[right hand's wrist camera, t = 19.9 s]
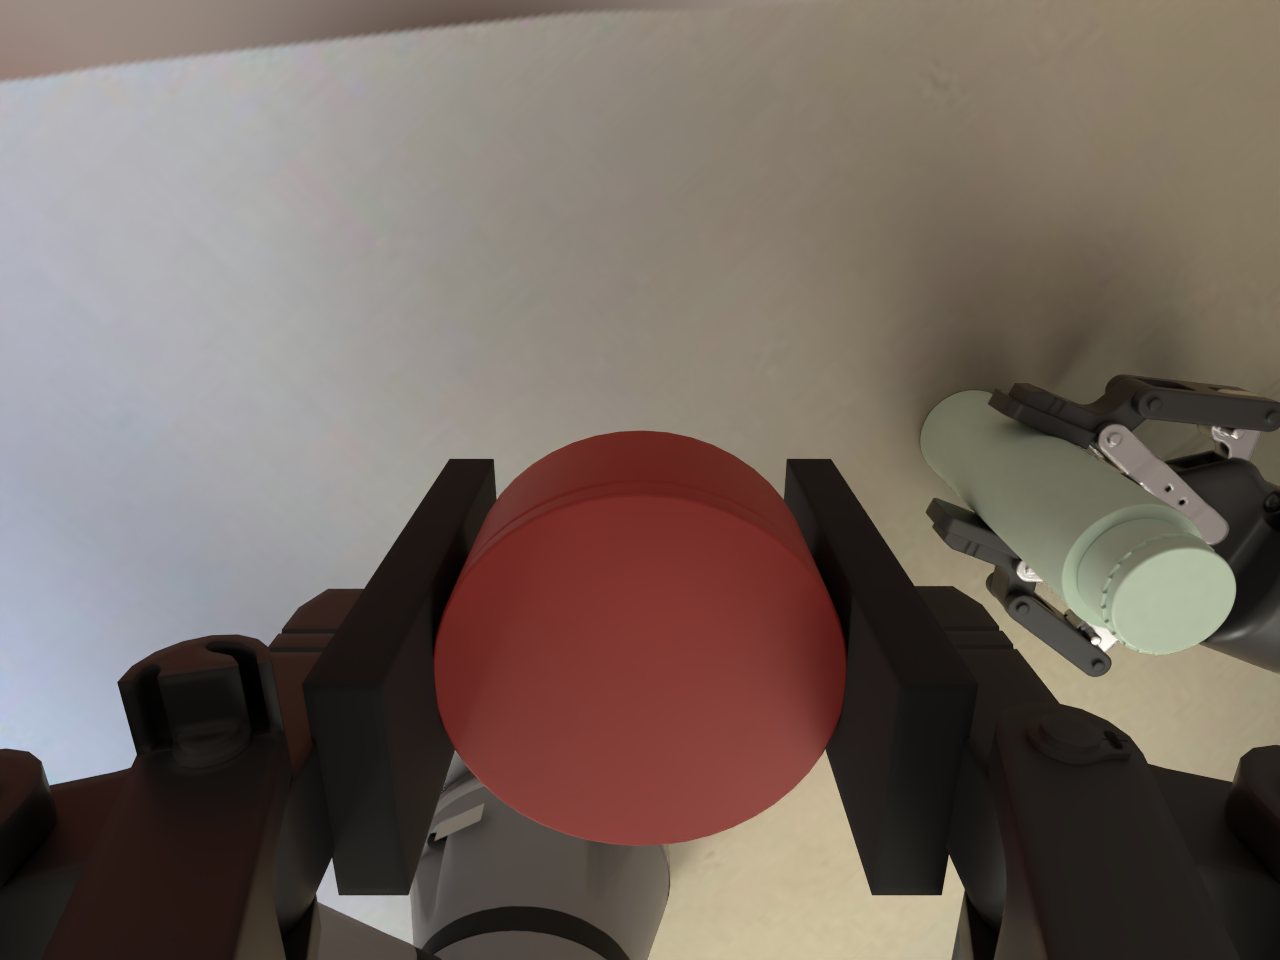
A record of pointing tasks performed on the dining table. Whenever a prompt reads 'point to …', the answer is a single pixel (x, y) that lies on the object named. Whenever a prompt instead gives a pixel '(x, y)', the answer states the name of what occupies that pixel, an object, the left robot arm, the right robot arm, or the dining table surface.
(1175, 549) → the bottle
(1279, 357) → the dining table surface
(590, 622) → the lid
